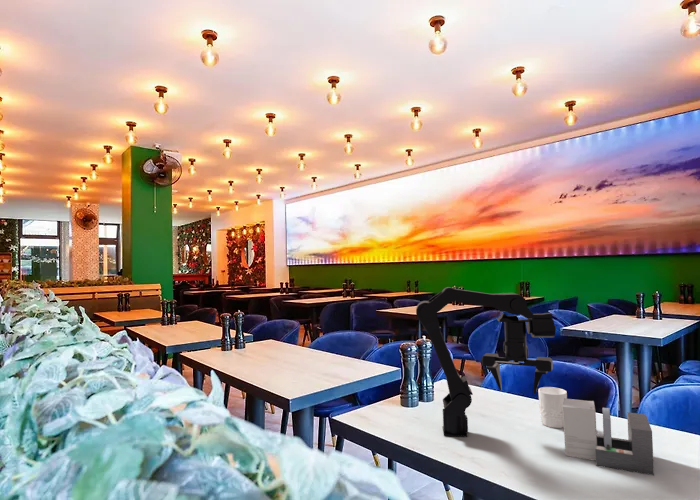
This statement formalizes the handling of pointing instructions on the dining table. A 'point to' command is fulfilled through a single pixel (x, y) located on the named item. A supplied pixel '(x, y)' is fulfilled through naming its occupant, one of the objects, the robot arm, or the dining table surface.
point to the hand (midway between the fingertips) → (517, 392)
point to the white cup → (552, 406)
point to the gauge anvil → (629, 448)
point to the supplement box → (580, 428)
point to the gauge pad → (607, 428)
